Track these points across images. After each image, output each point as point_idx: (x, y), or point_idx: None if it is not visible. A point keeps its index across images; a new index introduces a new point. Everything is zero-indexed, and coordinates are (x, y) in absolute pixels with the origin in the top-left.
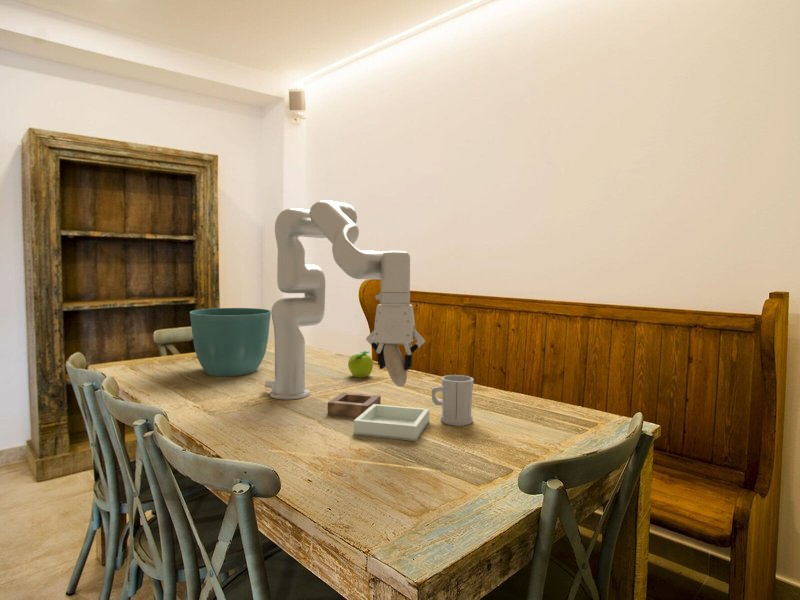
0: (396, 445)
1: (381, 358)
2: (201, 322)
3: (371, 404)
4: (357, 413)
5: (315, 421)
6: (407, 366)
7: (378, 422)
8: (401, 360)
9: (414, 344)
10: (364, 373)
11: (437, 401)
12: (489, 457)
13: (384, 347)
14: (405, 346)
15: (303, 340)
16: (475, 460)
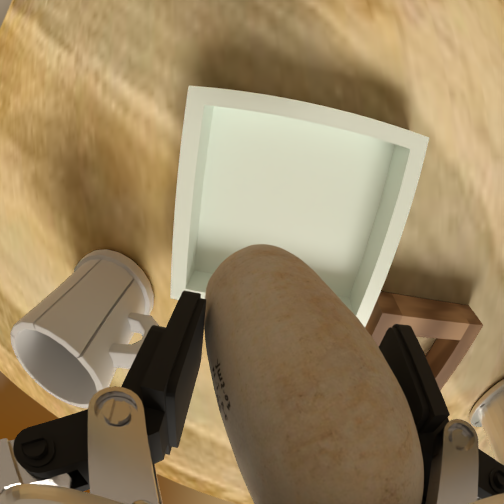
0: (261, 43)
1: (422, 381)
2: None
3: None
4: (404, 301)
5: (498, 247)
6: (175, 315)
7: (340, 115)
8: (225, 367)
9: (44, 480)
10: None
11: (141, 321)
12: (34, 41)
13: (422, 480)
14: (137, 486)
15: None
16: (59, 11)
